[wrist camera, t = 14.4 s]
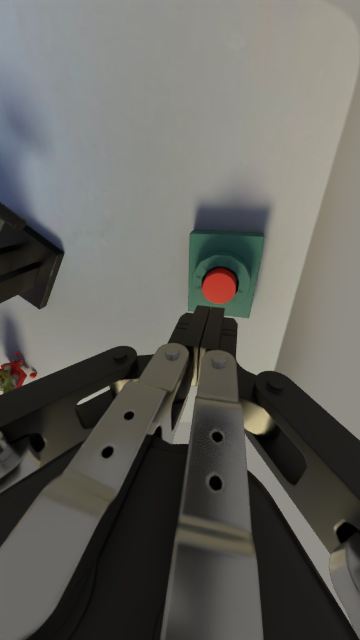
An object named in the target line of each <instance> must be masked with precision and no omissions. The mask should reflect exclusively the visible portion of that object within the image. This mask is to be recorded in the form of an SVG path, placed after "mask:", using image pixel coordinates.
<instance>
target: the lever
mask: <svg viewBox="0 0 360 640" xmlns="http://www.w3.org/2000/svg"><path fill="white" fill-rule="evenodd" d="M5 222H6V223H7V224H9V225H10V226H12V227H13V228H14V229H16V230H18V231H20V230H22V229H23V228H24V227H25V226H26V221H25V220H24V219H23V218H21V217H20V216H19V215H17V214H16V213H15V212H13V211H12V210H11V209H9V208H8V207H6V206H5V205H4V204H2V203H1V202H0V231H1V229H2V227H3V225H4V223H5Z"/></svg>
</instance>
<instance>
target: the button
mask: <svg viewBox="0 0 360 640" xmlns="http://www.w3.org/2000/svg"><path fill="white" fill-rule="evenodd" d="M202 290H203V294H204V296H205V297H206V298H207V299H208V300H209V301H211V302H213V303H216V304H222V303H226V302H228V301H230V300H231V299H232V298H233V296H234V295H235V292H236V278H235V276H234V274H233V273H232V272H231V271H229V270H228V269H225V268H216V269H213V270H211V271H210V272H209V273H208V274H207V276H206V278H205V280H204V282H203V286H202Z"/></svg>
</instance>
